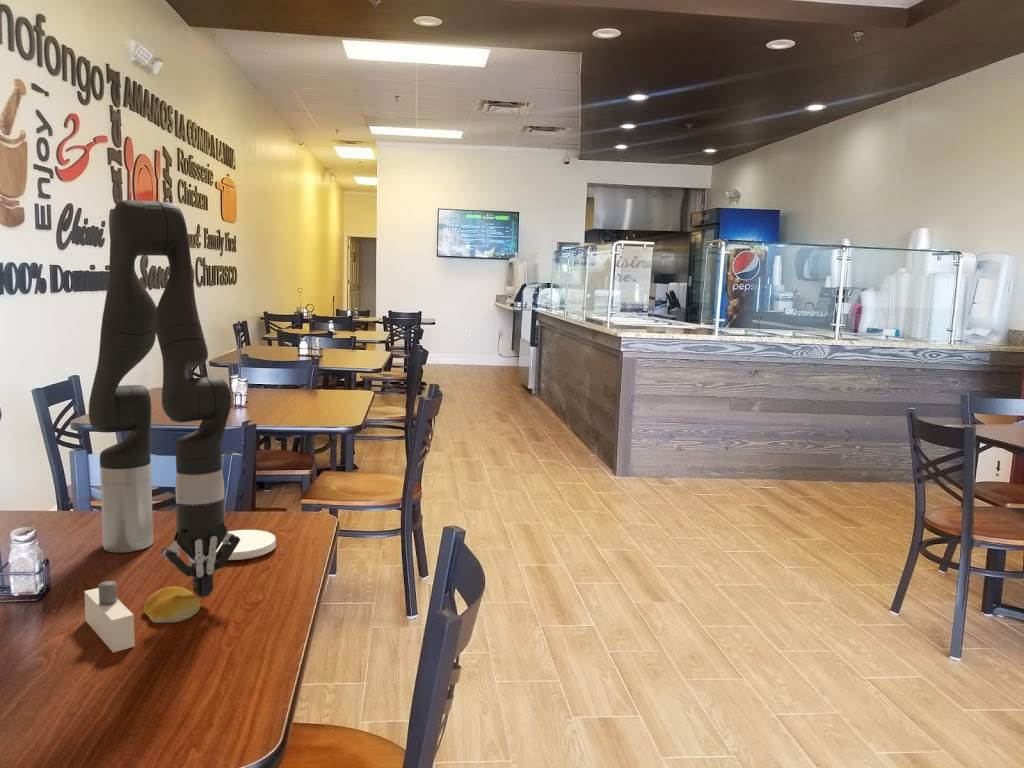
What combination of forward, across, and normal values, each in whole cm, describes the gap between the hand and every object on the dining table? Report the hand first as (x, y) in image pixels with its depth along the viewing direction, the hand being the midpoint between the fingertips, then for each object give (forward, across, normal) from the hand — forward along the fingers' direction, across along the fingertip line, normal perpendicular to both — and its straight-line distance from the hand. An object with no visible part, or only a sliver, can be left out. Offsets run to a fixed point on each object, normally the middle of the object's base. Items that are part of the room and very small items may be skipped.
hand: (203, 595), depth 129 cm
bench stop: (+2, +15, +1) cm, 15 cm away
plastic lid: (+2, -16, -21) cm, 27 cm away
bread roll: (+2, +5, -1) cm, 5 cm away
